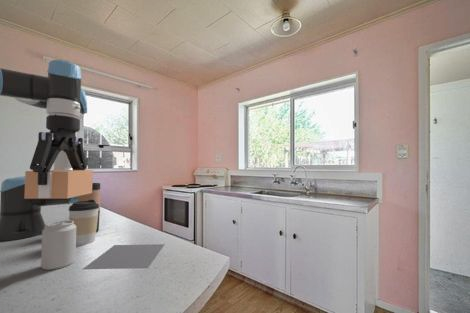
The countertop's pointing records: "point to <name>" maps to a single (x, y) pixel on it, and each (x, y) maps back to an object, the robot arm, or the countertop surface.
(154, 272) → the countertop surface
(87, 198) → the travel mug
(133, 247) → the mat
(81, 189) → the orange block
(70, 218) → the coffee cup
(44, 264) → the white soda can
